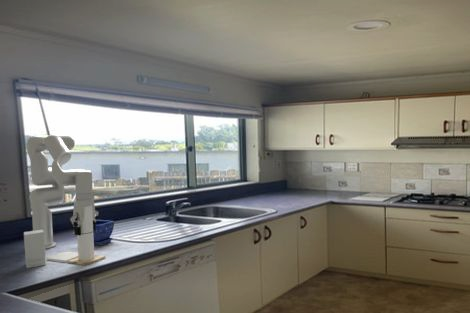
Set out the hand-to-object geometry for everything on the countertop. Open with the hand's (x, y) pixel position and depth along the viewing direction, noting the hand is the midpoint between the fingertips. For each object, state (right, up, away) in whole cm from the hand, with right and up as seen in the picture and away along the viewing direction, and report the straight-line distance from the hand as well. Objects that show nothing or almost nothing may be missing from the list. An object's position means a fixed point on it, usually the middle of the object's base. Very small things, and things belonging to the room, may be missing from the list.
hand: (85, 232), depth 193 cm
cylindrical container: (0, -12, +1) cm, 13 cm away
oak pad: (0, -13, +1) cm, 13 cm away
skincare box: (-21, -14, -5) cm, 26 cm away
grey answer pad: (-12, -13, +6) cm, 18 cm away
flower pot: (-5, -12, +32) cm, 35 cm away
